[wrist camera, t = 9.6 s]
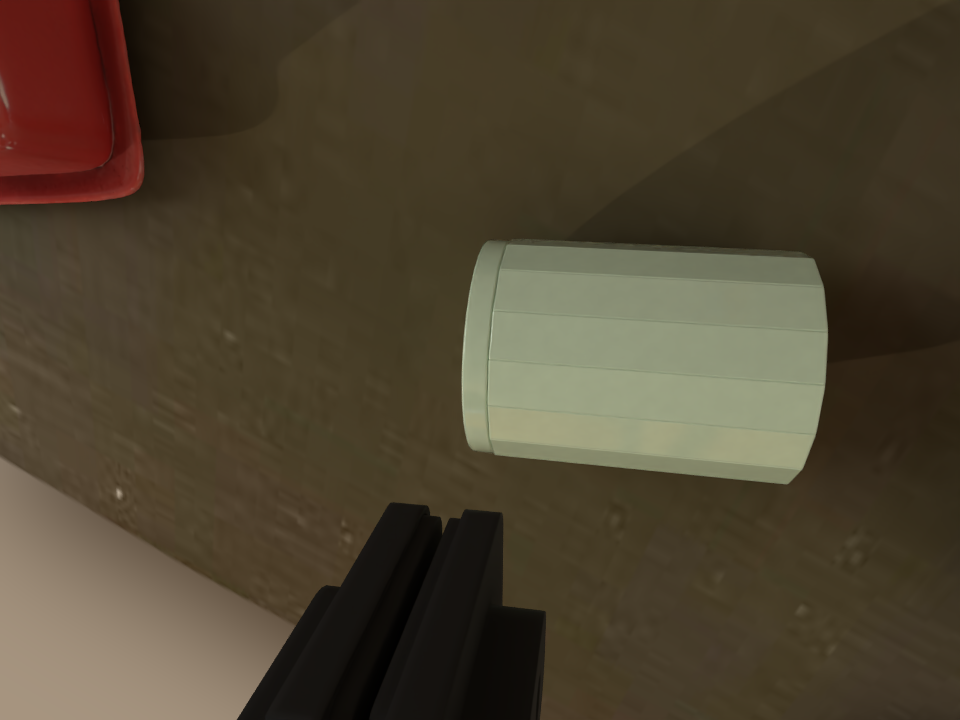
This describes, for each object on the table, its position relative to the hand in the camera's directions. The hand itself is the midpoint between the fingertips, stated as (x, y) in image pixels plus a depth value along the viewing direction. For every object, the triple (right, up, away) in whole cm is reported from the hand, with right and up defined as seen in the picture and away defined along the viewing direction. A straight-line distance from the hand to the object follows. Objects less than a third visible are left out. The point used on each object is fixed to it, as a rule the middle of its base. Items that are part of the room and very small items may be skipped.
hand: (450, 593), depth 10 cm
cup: (+1, +4, +13) cm, 14 cm away
